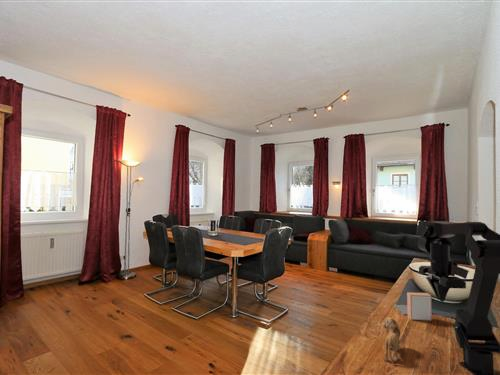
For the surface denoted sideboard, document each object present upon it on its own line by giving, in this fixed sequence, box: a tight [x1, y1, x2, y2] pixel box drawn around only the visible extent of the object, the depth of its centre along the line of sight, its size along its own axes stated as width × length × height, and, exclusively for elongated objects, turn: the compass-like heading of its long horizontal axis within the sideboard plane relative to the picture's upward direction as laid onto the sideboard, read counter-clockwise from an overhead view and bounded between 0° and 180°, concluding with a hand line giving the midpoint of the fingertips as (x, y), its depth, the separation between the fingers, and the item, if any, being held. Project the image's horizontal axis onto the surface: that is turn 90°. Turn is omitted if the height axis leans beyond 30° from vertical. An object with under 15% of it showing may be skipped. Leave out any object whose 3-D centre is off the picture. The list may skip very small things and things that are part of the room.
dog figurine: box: [381, 317, 401, 365], centre depth 89 cm, size 15×5×9 cm, turn 157°
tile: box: [406, 292, 433, 322], centre depth 114 cm, size 3×8×10 cm, turn 84°
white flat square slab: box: [393, 304, 408, 316], centre depth 122 cm, size 10×10×1 cm
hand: (440, 300), depth 99 cm, fingers closed
